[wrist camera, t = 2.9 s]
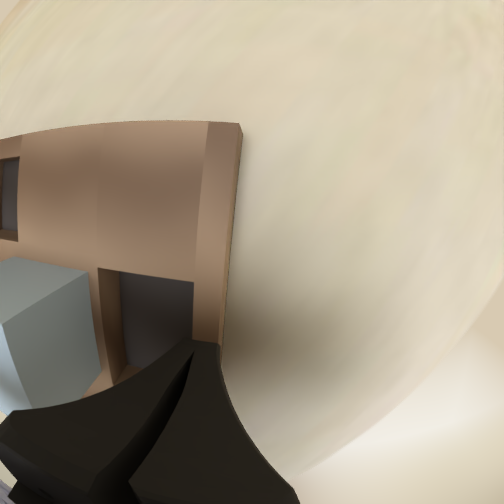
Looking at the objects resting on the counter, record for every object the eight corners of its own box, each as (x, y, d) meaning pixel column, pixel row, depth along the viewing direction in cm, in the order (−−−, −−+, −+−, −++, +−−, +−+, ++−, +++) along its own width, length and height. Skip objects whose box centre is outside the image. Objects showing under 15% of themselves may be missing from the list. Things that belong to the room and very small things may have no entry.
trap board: (216, 443, 14) (207, 493, 10) (-2, 365, 14) (-29, 388, 11) (242, 134, 10) (233, 107, 7) (-31, 154, 11) (-70, 155, 7)
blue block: (101, 371, 11) (49, 441, 6) (30, 344, 11) (-24, 392, 6) (87, 271, 10) (1, 324, 5) (14, 256, 10) (-60, 288, 5)
